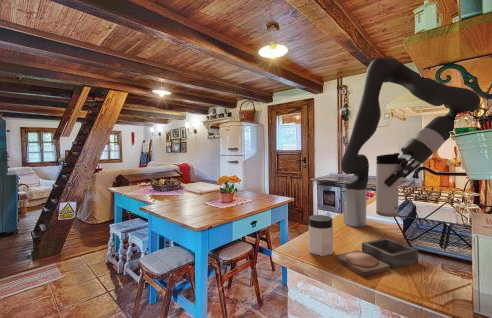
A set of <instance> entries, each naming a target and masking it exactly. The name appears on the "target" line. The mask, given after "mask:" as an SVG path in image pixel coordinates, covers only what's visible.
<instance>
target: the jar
mask: <svg viewBox="0 0 492 318" xmlns="http://www.w3.org/2000/svg"><path fill="white" fill-rule="evenodd" d="M307 222H308V250H309V253H310V254H312V255H317V256H319V255H320V257H325V256H330V255H333V254H334V247H333V246H334V227H333V218H332V217H331V216H329V215H325V214H313V215H309V216H308V221H307Z"/></svg>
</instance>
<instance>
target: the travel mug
mask: <svg viewBox="0 0 492 318" xmlns="http://www.w3.org/2000/svg"><path fill="white" fill-rule="evenodd" d="M399 156H401V155H400V153H399V152H394V153H389V154H380V155H377V156H376V161H375V164H376V167H375V170H376V173H375V176H376V177H375V181H376V182H375V183H376V184H375V186H376V187H375V191H376V193H375V199H376V200H375V202H376V203H375V208H376V209H375V213H376V215H378V216H380V217H386V218H396V217H398V216H399V179H398V180H397V181H396V182H395V183H394V184H393V185H392V186H390V187H388V186H387V185H386V184H385V183H384V181H385V180H386V179H387V178H388V177H389V176H390V175H391V174H393V173H394V171H395V170H396V166H397V165H398V157H399Z"/></svg>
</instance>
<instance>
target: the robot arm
mask: <svg viewBox="0 0 492 318" xmlns="http://www.w3.org/2000/svg"><path fill="white" fill-rule="evenodd" d="M369 63H370V64H368V65H369V66H368V67H367V70H366V74H365V78H364V79H365V80H364V84H363V85H364V86H363V91H362V95H361V99H360V103H359V106H358V111H357V113H356V117H355V119H354V124H353V127H352V130H351V134H350V137H349V141H348V144H347V146H346V149H345V151H344V154H343V156H342V158H341V163H340V168H341V171H342V172H343V174H345V175H353V176H352V177H351V179H349V180H346V181H345V183H344V200H345V201H344V203H343V223H344V224H345V225H346V226H350V227H356V228H363V227H366V226H367V185H368V183H369V172H370V171H369V169H370V163H369V159H368V156H366V155H365V154H363V153H361V154H360V150H361V149H362V147H363V146H364V145H365V144H366V143H367V142H368V141H369V140H370V139H371V137H373V136H374V134H375V133H376V132H377V128H378V126H379V123H380V120H381V116H382V113H381V106H380V105H381V104H380V94H381V91H382V86H383V84H384V83H392V84H395V85H399V86H401V87H403V88H405V89H406V90H408V92H410V94H412V96H414V97H416V98H417V99H419V100H421V101H423V102H425V103H427V104H429V105H431V106H433V107H441V106H443V105H445V106H447V107H448V108H449V111H448V112H447V113H446V114H445V115H438V116H436V117H434V118H433V119H432V120H431V121H430V122H428V124H426V126H424V127H423V128H422V129H421V130H419V131H418V132H417V133H416V134H414V135H413V137H411V138H410V139H409V140H408V141H407V142H406V143H405V144H404V145H403V146H402V147H401V148H400V150H401V152H402V155H399V156H398V165H397V166H396V170H395V171H394V173H393V174H391V175H390V176H389V177H388V178H387V179H386V180H385V181H384V183H385V184H386V185H387V186H388V187H390V186H392V185H393V184H394V183H395V182H396V181H397V180H398V181H399V180H401V179H406V178H407V177H409V175H411V174H412V173H413V172H414V171H416V170H417V169H418V168H419V167H420V166H421V165H423V164H424V163H425V162H427V160H428V159H430V157H432V155H434V154H435V153H436V152H437V151H438V150H439V149H441V147H442V145H443V144H445V142H446V141H448V140H449V139H450V138H451V137H450V133H449V132H450V131H453V129H454V120H455V117H456V115H457V113H461V112H465V111H470V112H474V111H475V110H477V109H478V108H480V107H481V97H480V95H479V94H478V93H477V92H476V93H477V94H478V95H479V96H478V95H477V94H476V93H475V91H474V90H472V89H469V88H464V87H460V86H459V87H458V86H451V85H447V84H445V83H442V82H440V83H438V82H439V81H438V82H436V81H437V80H435V79H432V78H431V77H428V78H424V77H421V76H420V74H421V73H420V72H419V73H418V72H416V71H415V70H413V69H412V68H410V67H409V66H407V65H406V64H404V63H403V62H402V61H400V60H398V59H396V58H393V57H376V58H374V59H373V60H372V61H371V62H369ZM430 78H431V79H430Z"/></svg>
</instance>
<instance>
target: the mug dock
mask: <svg viewBox="0 0 492 318" xmlns="http://www.w3.org/2000/svg"><path fill="white" fill-rule="evenodd" d="M334 260H335V261H336V262H338V263H340V265H341V264H342V265H343V266H344V267H346V268H348V269H349V270H351V271H353V272H354V273H356V274H358V275H360V276H362V277H363V278H367V277H370V276H371V277H372V276H375V275H377V274H382V273H386V272H390V271H391V270H393V269H398V268H402V267H405V266H409V265H414V264H418V263H419V250H418V249H416V248H414V247H412V246H409V245H406V244H403V243H400V242H398V241H395V240H393V239H390V238H387V237H384V238H379V239H374V240H370V241H365V242H362V243H361V250H359V249H358V250H354V251H350V252H344V253H340V254H335V255H334Z"/></svg>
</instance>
